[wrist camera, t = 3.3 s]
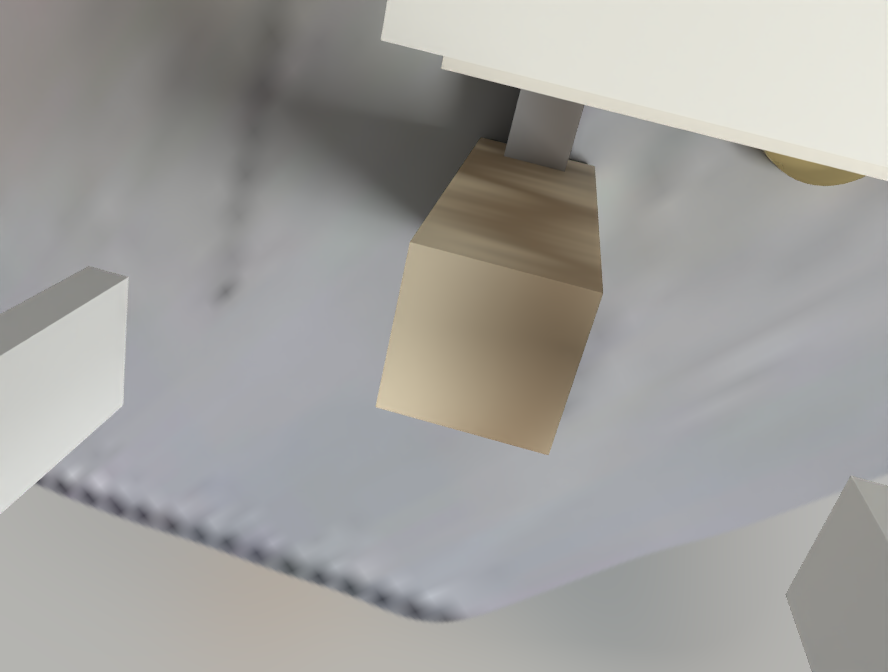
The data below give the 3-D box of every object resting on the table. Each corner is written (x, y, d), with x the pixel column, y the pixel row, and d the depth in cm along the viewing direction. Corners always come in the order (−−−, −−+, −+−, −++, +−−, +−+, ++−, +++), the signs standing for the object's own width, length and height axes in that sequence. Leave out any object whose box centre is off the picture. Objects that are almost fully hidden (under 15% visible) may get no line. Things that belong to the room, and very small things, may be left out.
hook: (455, 245, 28) (375, 407, 17) (545, -137, 23) (511, -249, 12) (920, 368, 27) (1142, 620, 16) (1127, 0, 22) (1664, 12, 11)
